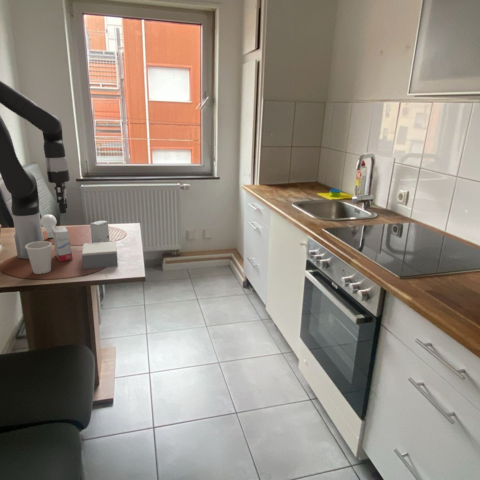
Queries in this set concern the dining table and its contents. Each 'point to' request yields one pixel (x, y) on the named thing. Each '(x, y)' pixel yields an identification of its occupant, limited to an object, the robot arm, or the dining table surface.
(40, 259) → the dixie cup
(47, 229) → the lightbulb
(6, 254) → the dining table surface
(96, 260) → the plinth
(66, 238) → the ink box
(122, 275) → the dining table surface
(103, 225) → the skincare box
